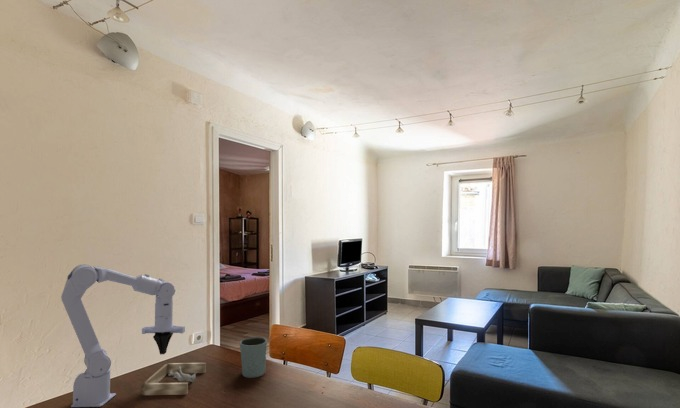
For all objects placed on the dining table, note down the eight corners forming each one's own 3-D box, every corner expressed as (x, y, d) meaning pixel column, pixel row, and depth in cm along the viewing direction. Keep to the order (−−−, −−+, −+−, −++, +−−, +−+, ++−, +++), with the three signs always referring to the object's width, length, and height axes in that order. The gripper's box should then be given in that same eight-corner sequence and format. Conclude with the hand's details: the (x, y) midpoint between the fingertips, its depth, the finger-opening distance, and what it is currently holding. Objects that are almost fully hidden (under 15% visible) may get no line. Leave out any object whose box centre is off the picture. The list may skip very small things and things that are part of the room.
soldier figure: (182, 377, 136) (205, 371, 132) (176, 390, 132) (200, 385, 128) (167, 367, 132) (191, 361, 128) (161, 381, 128) (185, 375, 124)
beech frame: (141, 395, 120) (141, 384, 120) (166, 372, 138) (166, 363, 138) (186, 394, 120) (186, 383, 120) (205, 371, 138) (205, 362, 138)
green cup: (260, 379, 131) (260, 346, 132) (234, 377, 133) (234, 344, 134) (270, 368, 141) (270, 337, 142) (246, 366, 143) (247, 335, 144)
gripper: (188, 312, 134) (187, 349, 134) (149, 312, 134) (148, 349, 133) (180, 317, 127) (179, 356, 127) (138, 317, 127) (138, 356, 126)
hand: (163, 353), depth 129 cm, fingers closed
